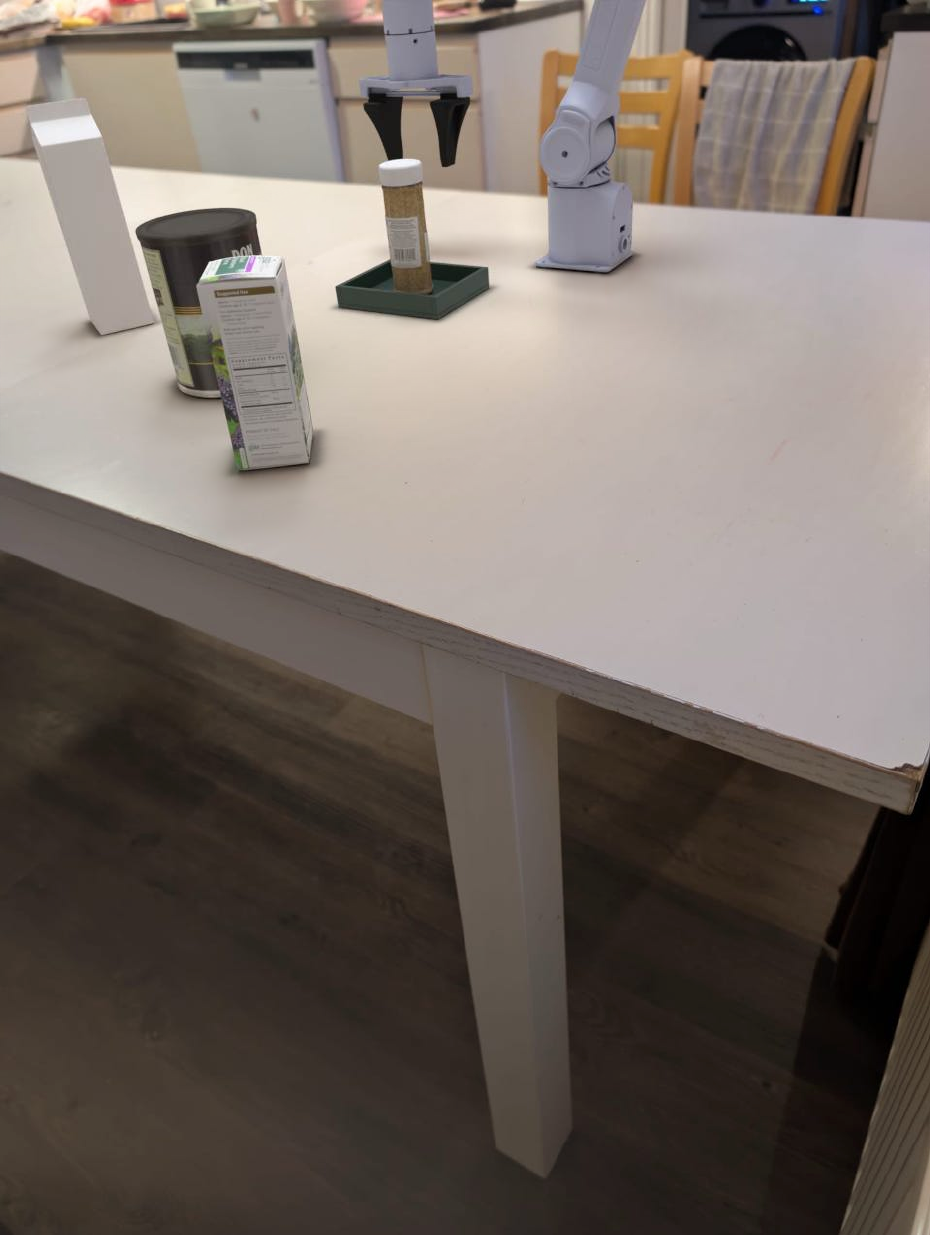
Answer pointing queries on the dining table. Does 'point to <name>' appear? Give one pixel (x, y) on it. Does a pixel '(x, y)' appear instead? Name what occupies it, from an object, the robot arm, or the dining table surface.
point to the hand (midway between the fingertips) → (421, 164)
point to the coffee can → (192, 281)
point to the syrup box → (257, 360)
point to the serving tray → (379, 295)
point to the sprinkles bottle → (406, 225)
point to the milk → (89, 214)
